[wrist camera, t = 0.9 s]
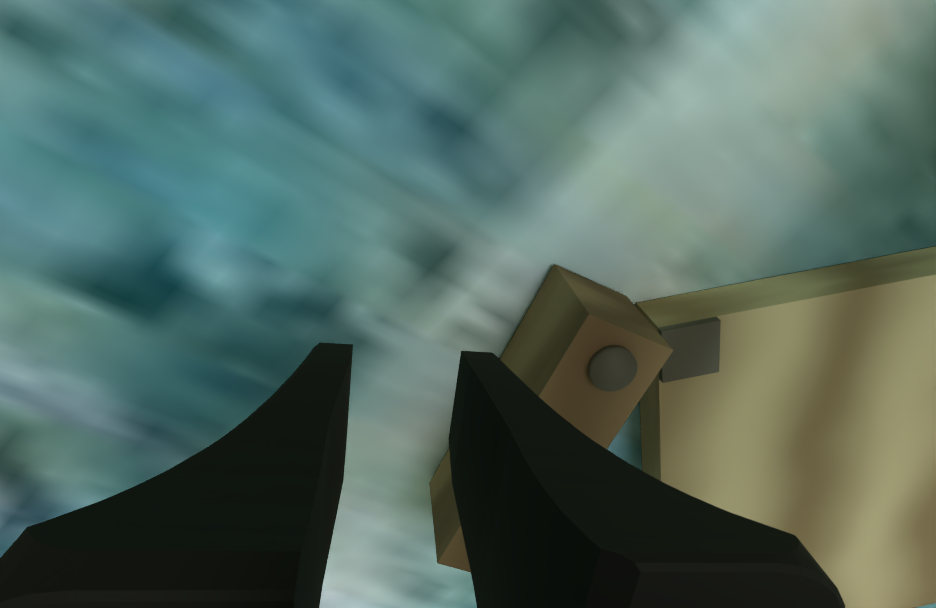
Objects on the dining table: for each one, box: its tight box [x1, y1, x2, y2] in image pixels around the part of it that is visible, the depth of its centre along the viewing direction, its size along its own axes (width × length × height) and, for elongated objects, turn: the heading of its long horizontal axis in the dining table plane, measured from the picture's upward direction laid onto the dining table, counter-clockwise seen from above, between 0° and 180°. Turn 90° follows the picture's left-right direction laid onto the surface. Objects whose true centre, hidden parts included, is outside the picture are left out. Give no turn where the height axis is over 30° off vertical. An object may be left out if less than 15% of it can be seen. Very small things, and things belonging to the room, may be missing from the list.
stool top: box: [636, 246, 936, 608], centre depth 26 cm, size 13×20×4 cm, turn 8°
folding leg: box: [430, 264, 673, 572], centre depth 22 cm, size 3×10×4 cm, turn 153°
